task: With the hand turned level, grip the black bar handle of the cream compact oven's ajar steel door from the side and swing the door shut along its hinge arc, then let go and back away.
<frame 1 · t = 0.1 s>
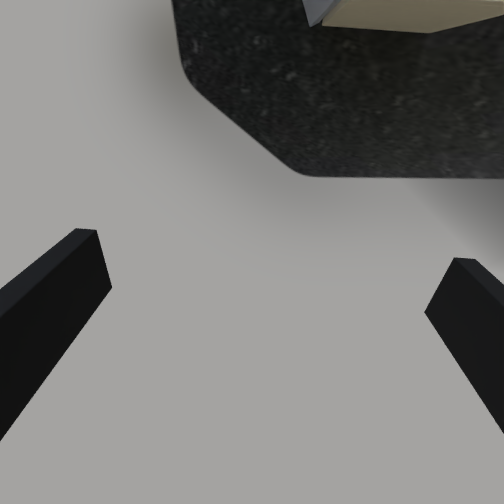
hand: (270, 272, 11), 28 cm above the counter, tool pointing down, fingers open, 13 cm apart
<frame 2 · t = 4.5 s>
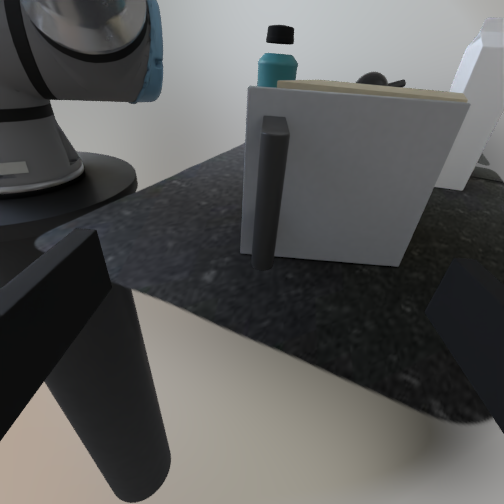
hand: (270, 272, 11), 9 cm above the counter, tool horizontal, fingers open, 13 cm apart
oven door: (342, 205, 20), point 7 cm above the counter, hinge at 28.0°
milk: (437, 183, 49), on the counter
oven: (339, 218, 34), on the counter
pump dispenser: (351, 165, 55), on the counter
beverage bottle: (268, 162, 53), on the counter
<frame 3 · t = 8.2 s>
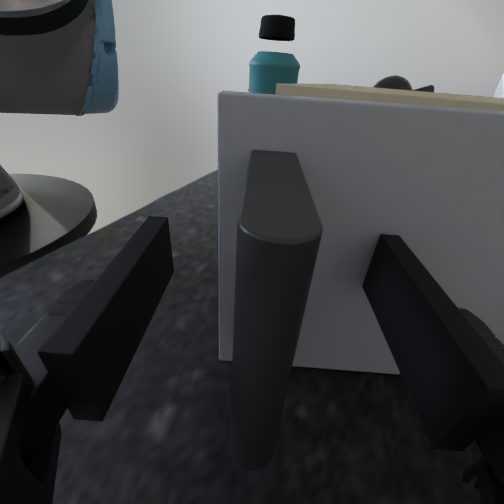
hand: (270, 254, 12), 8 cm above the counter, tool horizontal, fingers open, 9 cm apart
oven door: (408, 322, 10), point 7 cm above the counter, hinge at 27.9°, touching gripper
oven: (363, 277, 24), on the counter
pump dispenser: (364, 188, 45), on the counter
beverage bottle: (264, 186, 43), on the counter
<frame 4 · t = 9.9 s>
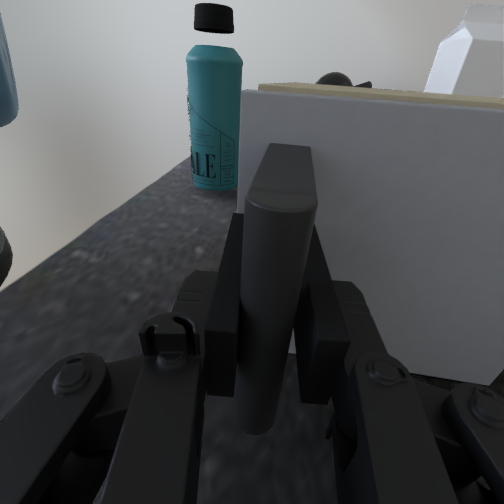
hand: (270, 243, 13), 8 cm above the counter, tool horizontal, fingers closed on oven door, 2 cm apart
oven door: (412, 312, 11), point 7 cm above the counter, hinge at 7.4°, touching gripper
milk: (417, 201, 42), on the counter
oven: (350, 287, 23), on the counter
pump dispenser: (315, 186, 45), on the counter
beverage bottle: (216, 194, 39), on the counter
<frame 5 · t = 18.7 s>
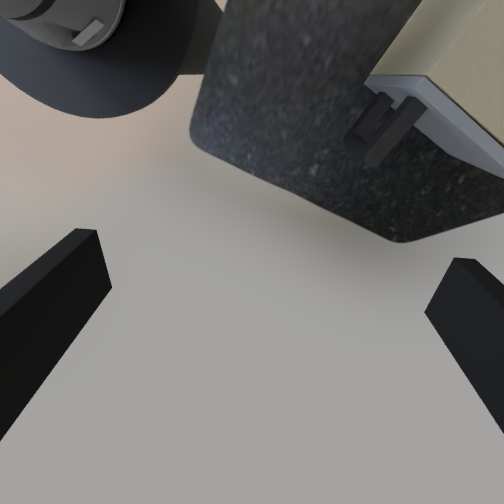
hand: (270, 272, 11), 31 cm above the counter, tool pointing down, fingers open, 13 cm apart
oven door: (414, 152, 30), point 7 cm above the counter, hinge at -0.6°
oven: (453, 66, 32), on the counter
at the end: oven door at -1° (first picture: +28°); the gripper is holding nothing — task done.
